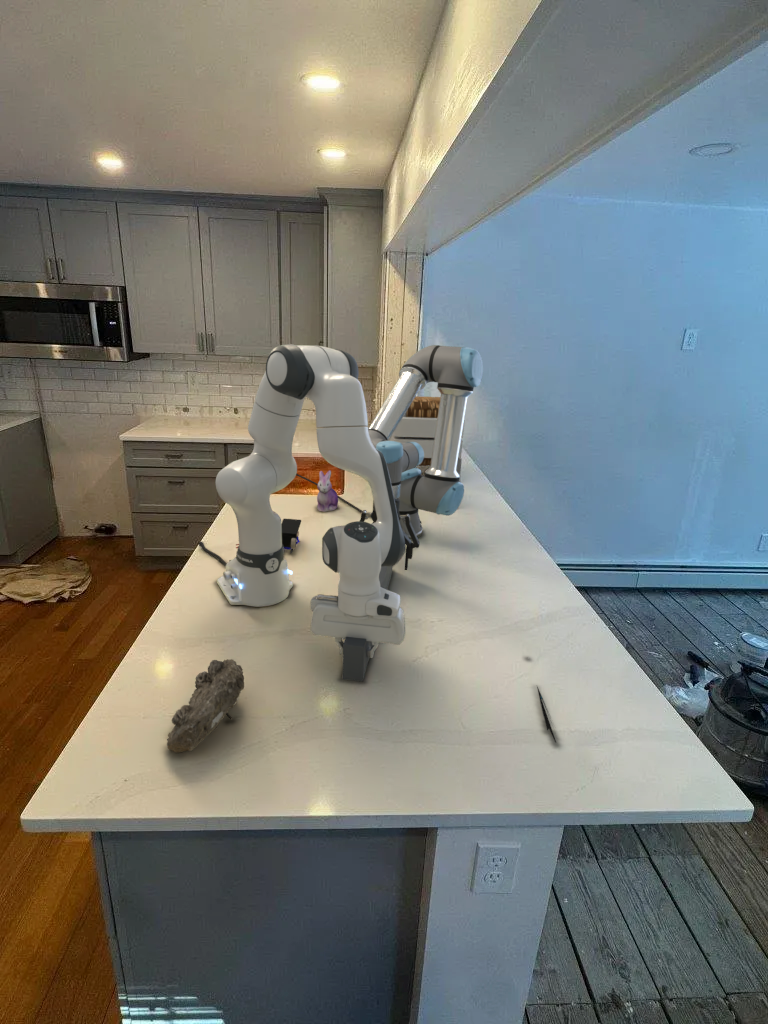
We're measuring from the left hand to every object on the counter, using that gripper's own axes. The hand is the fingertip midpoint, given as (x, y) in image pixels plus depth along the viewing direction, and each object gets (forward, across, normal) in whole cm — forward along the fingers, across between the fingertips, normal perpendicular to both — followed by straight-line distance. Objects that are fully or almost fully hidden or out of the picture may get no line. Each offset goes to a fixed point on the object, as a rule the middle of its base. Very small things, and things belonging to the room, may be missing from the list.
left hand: (357, 654), depth 124 cm
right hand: (0, 0, +45) cm, 45 cm away
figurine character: (+3, -33, +60) cm, 69 cm away
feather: (+3, +39, -3) cm, 39 cm away
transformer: (+3, +3, +161) cm, 161 cm away
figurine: (+3, -29, +100) cm, 104 cm away
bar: (+3, 0, +23) cm, 23 cm away
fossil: (+3, -24, -21) cm, 32 cm away
